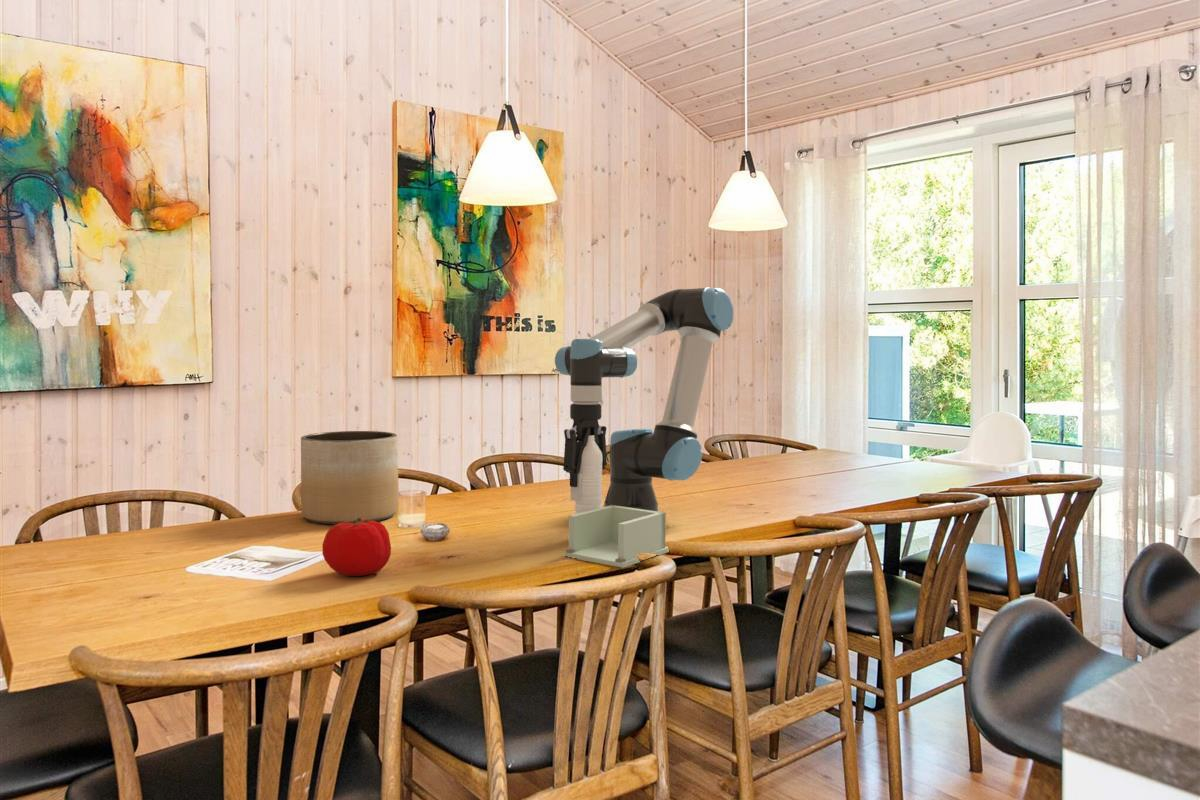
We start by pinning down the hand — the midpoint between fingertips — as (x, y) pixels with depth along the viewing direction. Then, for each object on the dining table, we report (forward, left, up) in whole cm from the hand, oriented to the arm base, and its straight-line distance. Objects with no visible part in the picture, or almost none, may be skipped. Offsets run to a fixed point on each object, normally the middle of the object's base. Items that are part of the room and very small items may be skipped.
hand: (585, 498), depth 212 cm
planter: (+19, -66, -10) cm, 69 cm away
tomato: (+55, -16, -10) cm, 58 cm away
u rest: (+9, +16, -10) cm, 21 cm away
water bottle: (0, 0, -10) cm, 10 cm away
